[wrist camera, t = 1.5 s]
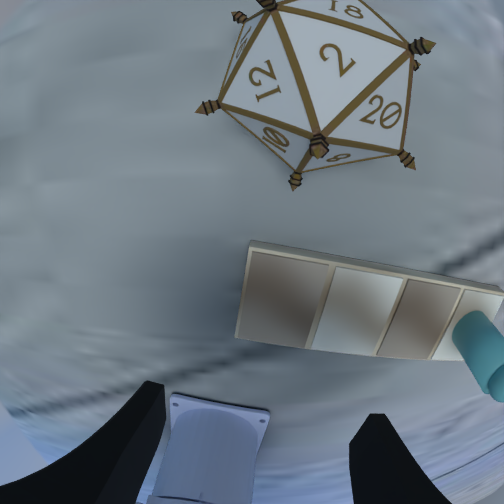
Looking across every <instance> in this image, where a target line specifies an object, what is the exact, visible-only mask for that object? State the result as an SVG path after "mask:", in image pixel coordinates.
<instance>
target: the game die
mask: <svg viewBox="0 0 504 504" xmlns="http://www.w3.org/2000/svg"><path fill="white" fill-rule="evenodd" d="M256 1H257V2H258V3H259V4H260V5H261V6H262V7H263V8H264V9H263V10H261V11H259V12H258V13H256V14H254V15H253V16H251V17H249V18H247V15H245V14H243V12H240V11H238V12H231V13H232V16H233V21H237V23H238V24H239V23H242V24H243V26H242V29H241V32H240V34H239V37H238V40H237V43H236V46H235V48H234V51H233V54H232V57H231V60H230V63H229V66H228V69H227V72H226V75H225V78H224V81H223V84H222V87H221V90H220V94H219V97H218V99H217V100H216V101H210V100H208V102H204V101H203V102H202V104H201V105H200V107H199V108H198V109H197V110H196V111H195V113H200V114H206V115H207V116H208V114H210V113H212V112H213V113H214V111H216V110H217V109H220V108H221V109H222V110H223V111H225V112H226V113H227V114H228V115H230V116H231V117H232V118H233V119H235V120H236V121H237V122H238V123H239V124H241V125H242V126H243V127H244V128H245V129H247V130H248V131H249V132H250V133H251V134H253V135H254V136H255V137H256V138H257V139H259V140H260V141H261V142H262V143H263V144H264V145H266V146H267V147H268V148H269V149H270V150H271V151H272V152H274V153H275V154H276V155H277V156H278V157H279V158H280V159H281V160H283V161H284V162H285V163H286V164H287V165H288V166H289V167H290V168H292V169H293V170H294V172H293V174H292V175H290V177H291V178H290V180H288V182H289V183H290V185H291V188H292V192H293V191H294V190H295V189H296V188H297V187H298V186H300V185H301V184H302V183H301V180H302V179H303V178H302V177H301V174H302V173H304V172H309V171H313V170H318V169H323V168H328V167H333V166H338V165H343V164H349V163H354V162H360V161H365V160H371V159H376V158H382V157H388V156H394V155H397V156H399V158H400V162H401V163H403V164H404V167H405V168H406V167H408V168H411V169H414V170H416V168H415V162H414V157H412V156H411V155H410V154H411V153H410V152H409V153H407V152H406V151H404V149H403V147H404V141H405V135H406V128H407V121H408V114H409V106H410V98H411V88H412V78H413V70H414V71H416V70H417V69H418V68H419V66H420V65H421V64H420V63H418V62H417V60H414V54H419V55H422V54H424V53H426V54H429V53H430V52H431V49H432V48H433V47H434V46H435V44H436V43H434V42H432V41H429V40H426V39H424V38H423V37H420V39H419V40H416V39H414V42H413V43H411V44H409V43H408V42H407V41H406V40H405V39H404V38H403V37H402V36H401V35H400V34H399V33H398V32H397V31H396V30H395V29H394V28H393V27H392V26H391V25H390V24H389V23H388V22H387V21H385V20H384V19H383V18H382V17H381V16H380V15H379V14H378V13H376V12H375V11H374V10H373V9H372V8H371V7H369V6H368V5H367V4H366V3H365V2H363V1H362V0H284V1H281V2H277V3H276V1H275V0H256Z"/></svg>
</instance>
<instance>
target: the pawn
mask: <svg viewBox="0 0 504 504" xmlns="http://www.w3.org/2000/svg"><path fill="white" fill-rule="evenodd" d="M452 341H453V343H454V345H455V346H456V348H457V349H458V351H459V352H460V354H461V356H462V357H463V359H464V360H465V362H466V364H467V365H468V367H469V369H470V370H471V372H472V374H473V375H474V377H475V379H476V380H477V382H478V384H479V386H480V387H481V389H482V391H483V392H484V393H485V394H490V395H491V396H492V398H493V399H494V400H496V401H498V402H504V337H503V336H502V334H501V333H500V332H499V331H498V330H497V328H496V327H495V326H494V325H493V324H492V322H491V321H490V320H489V319H488V318H487V316H486V315H485V314H484V313H483V312H481V311H472V312H469V313H468V314H466V315H465V316H463V317H462V318H461V319H460V320H459V321H458V323H457V324H456V326H455V327H454V330H453V332H452Z"/></svg>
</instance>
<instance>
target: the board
mask: <svg viewBox="0 0 504 504" xmlns="http://www.w3.org/2000/svg"><path fill="white" fill-rule="evenodd" d="M503 298H504V291H503V290H502V289H501V288H500V287H498V286H493V285H488V284H483V283H478V282H473V281H468V280H463V279H458V278H453V277H448V276H442V275H437V274H432V273H427V272H422V271H417V270H411V269H406V268H401V267H396V266H390V265H385V264H380V263H375V262H369V261H364V260H358V259H353V258H348V257H342V256H337V255H331V254H326V253H320V252H315V251H309V250H304V249H298V248H293V247H287V246H282V245H276V244H271V243H265V242H259V241H254V240H251V241H250V246H249V251H248V257H247V263H246V269H245V275H244V281H243V287H242V293H241V299H240V305H239V312H238V318H237V324H236V330H235V336H234V338H239V339H245V340H251V341H257V342H263V343H269V344H275V345H282V346H289V347H296V348H303V349H310V350H318V351H326V352H335V353H344V354H354V355H364V356H375V357H387V358H401V359H418V360H441V361H465V360H464V359H463V357H462V356H461V354H460V352H459V351H458V349H457V348H456V346H455V345H454V343H453V341H452V332H453V330H454V327H455V326H456V324H457V323H458V321H459V320H460V319H461V318H462V317H463V316H465V315H466V314H468V313H469V312H472V311H481V312H483V313H484V314H485V315H486V316H487V318H488V319H489V320H490V321H491V322H492V321H493V319H494V317H495V315H496V313H497V311H498V309H499V307H500V305H501V303H502V301H503Z"/></svg>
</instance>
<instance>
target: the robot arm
mask: <svg viewBox="0 0 504 504" xmlns="http://www.w3.org/2000/svg"><path fill="white" fill-rule="evenodd" d="M269 419H270V413H269V412H268V411H264V410H257V409H250V408H244V407H238V406H232V405H226V404H221V403H216V402H210V401H206V400H201V399H196V398H192V397H187V396H183V395H179V394H172V395H171V397H170V420H171V436H170V439H169V442H168V445H167V448H166V451H165V455H164V458H163V461H162V464H161V467H160V470H159V473H158V476H157V480H156V483H155V486H154V489H153V492H152V495H149V496H148V499H147V503H146V504H252V494H253V483H254V473H255V462H256V455H257V453H258V450H259V447H260V445H261V442H262V439H263V436H264V434H265V431H266V428H267V425H268V422H269ZM165 421H166V407H165V390H164V385H163V384H159V383H155V382H151V381H148V380H147V381H145V382H144V383H143V384H142V385H141V387H140V388H139V389H138V390H137V391H136V393H135V394H134V395H133V396H132V397H131V398H130V399H129V400H128V401H127V403H126V404H125V405H124V406H123V407H122V408H121V409H120V410H119V411H118V412H117V413H116V414H115V415H114V416H113V417H112V418H111V419H110V420H109V421H108V422H107V423H105V424H104V425H103V426H102V427H101V428H100V429H99V430H98V431H96V432H95V433H94V434H93V435H92V436H91V437H89V438H88V439H87V440H86V441H84V442H83V443H82V444H81V445H79V446H78V447H77V448H75V449H74V450H72V451H71V452H69V453H68V454H66V455H65V456H63V457H62V458H60V459H59V460H57V461H55V462H54V463H52V464H50V465H48V466H47V467H45V468H43V469H41V470H39V471H37V472H35V473H33V474H30V475H28V476H26V477H24V478H22V479H20V480H17V481H14V482H11V483H8V484H5V485H2V486H0V504H142V503H140V502H136V500H137V497H138V494H139V491H140V488H141V486H142V483H143V481H144V479H145V476H146V474H147V471H148V469H149V467H150V464H151V462H152V459H153V457H154V455H155V452H156V450H157V447H158V445H159V442H160V439H161V435H162V432H163V428H164V425H165ZM349 468H350V477H351V485H352V493H353V501H354V504H452V503H451V502H450V501H449V500H448V499H447V498H446V497H445V496H444V495H443V494H442V493H441V492H440V491H439V490H438V489H437V488H436V487H435V485H434V484H433V483H432V482H431V481H430V479H429V478H428V477H427V475H426V474H425V473H424V472H423V470H422V469H421V468H420V466H419V465H418V463H417V462H416V461H415V459H414V458H413V456H412V455H411V453H410V452H409V450H408V449H407V447H406V446H405V444H404V443H403V441H402V440H401V438H400V437H399V435H398V433H397V432H396V430H395V429H394V427H393V426H392V424H391V422H390V421H389V419H388V418H387V416H386V415H385V414H369V416H368V417H367V419H366V420H365V422H364V423H363V425H362V426H361V428H360V429H359V431H358V432H357V433H356V435H355V436H354V438H353V439H352V440H351V442H350V443H349Z"/></svg>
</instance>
